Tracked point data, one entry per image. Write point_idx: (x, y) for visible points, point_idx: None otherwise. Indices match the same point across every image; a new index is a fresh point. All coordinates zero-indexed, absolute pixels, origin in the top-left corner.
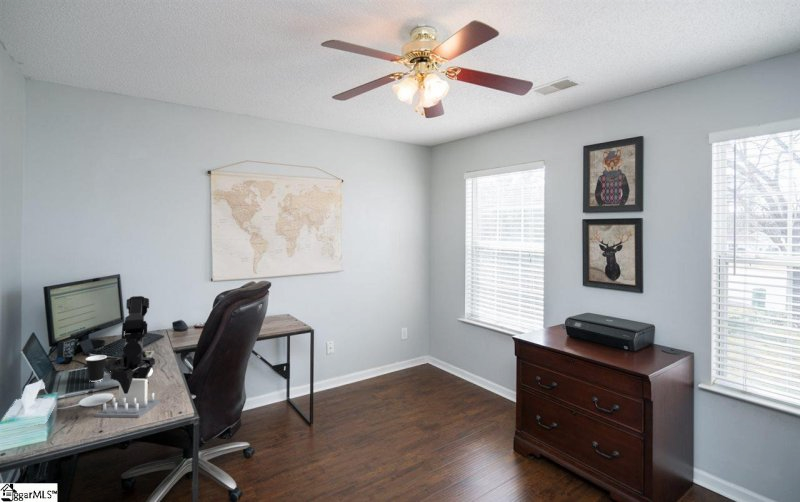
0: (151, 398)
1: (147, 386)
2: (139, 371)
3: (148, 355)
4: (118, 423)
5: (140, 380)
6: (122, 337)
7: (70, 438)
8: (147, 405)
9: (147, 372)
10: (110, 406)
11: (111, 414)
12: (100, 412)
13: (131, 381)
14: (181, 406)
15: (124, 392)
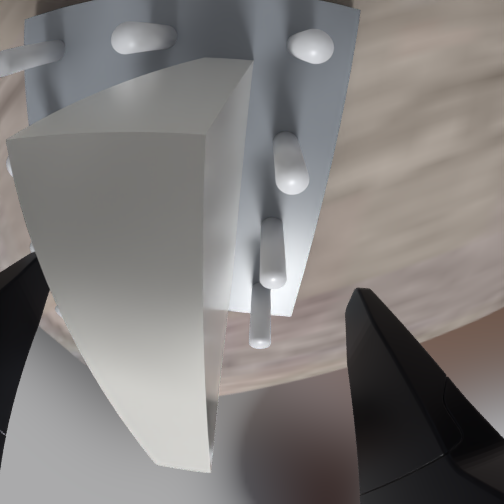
0: (251, 307)
1: (218, 393)
2: (430, 481)
3: None
4: (7, 216)
5: (147, 449)
6: None
7: None
8: None
9: (363, 493)
10: (164, 6)
11: None
12: (50, 24)
13: (4, 431)
14: (225, 379)
15: (24, 264)
